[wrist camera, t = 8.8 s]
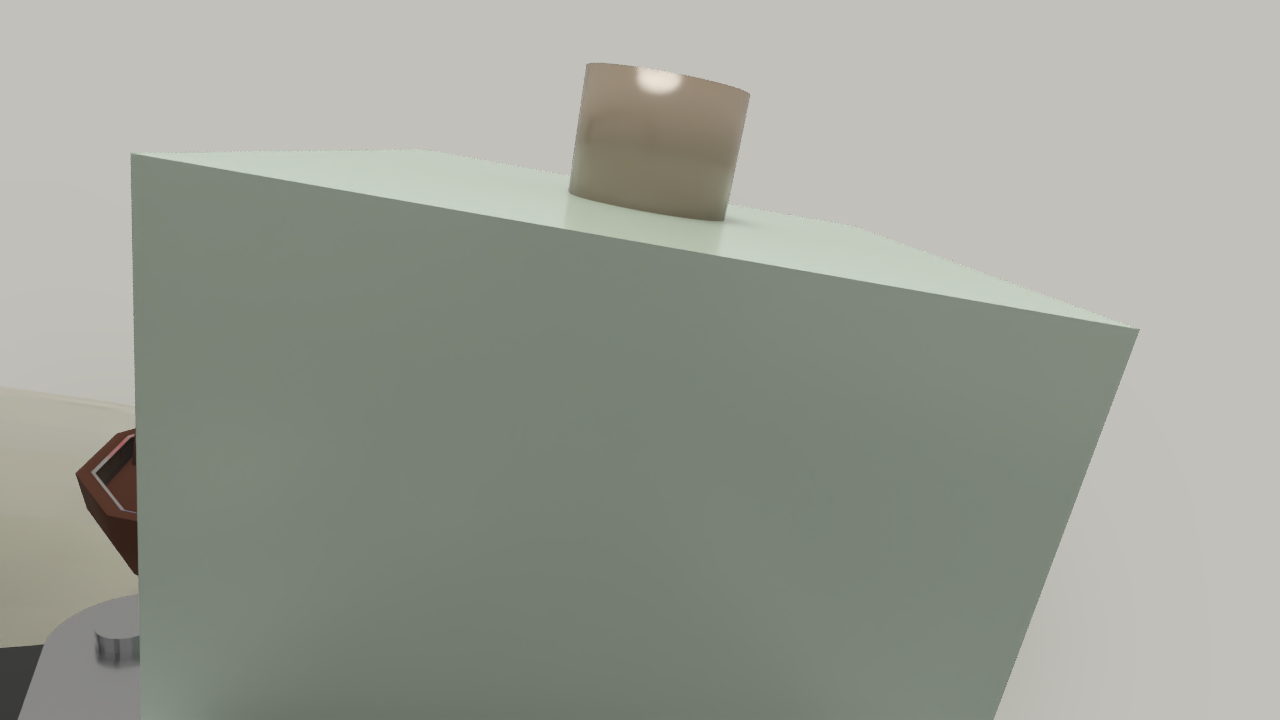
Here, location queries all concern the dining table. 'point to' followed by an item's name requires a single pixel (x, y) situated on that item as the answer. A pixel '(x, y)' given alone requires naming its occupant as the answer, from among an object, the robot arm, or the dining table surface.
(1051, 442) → the tall green carton
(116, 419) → the dining table surface
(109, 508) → the ice cream bowl
